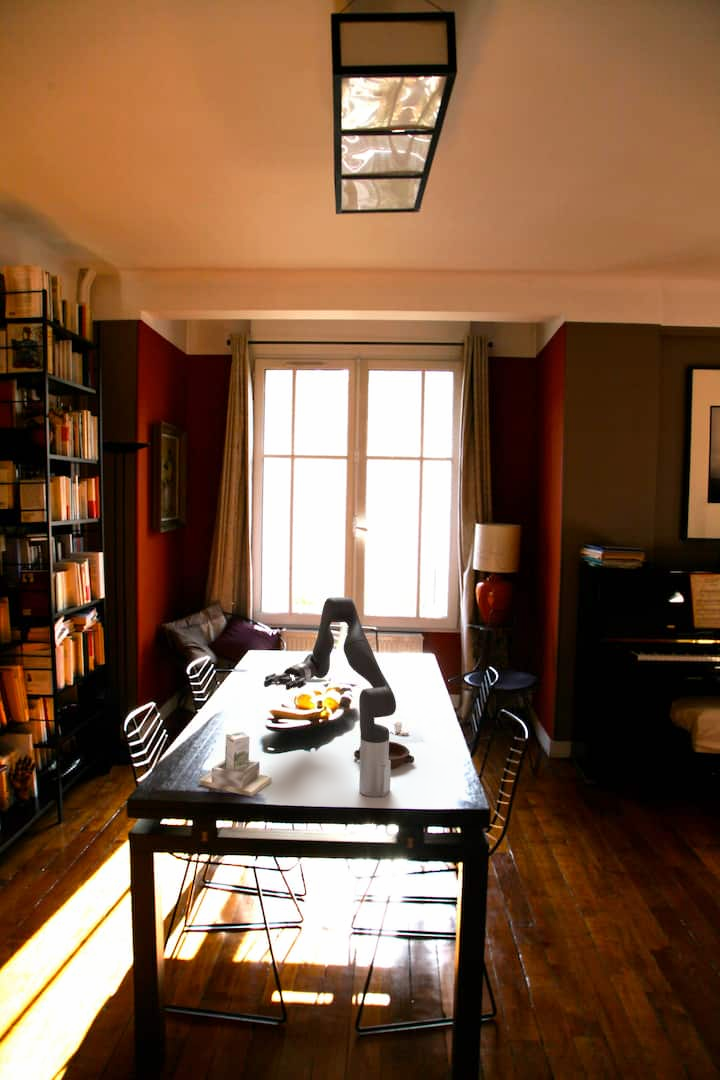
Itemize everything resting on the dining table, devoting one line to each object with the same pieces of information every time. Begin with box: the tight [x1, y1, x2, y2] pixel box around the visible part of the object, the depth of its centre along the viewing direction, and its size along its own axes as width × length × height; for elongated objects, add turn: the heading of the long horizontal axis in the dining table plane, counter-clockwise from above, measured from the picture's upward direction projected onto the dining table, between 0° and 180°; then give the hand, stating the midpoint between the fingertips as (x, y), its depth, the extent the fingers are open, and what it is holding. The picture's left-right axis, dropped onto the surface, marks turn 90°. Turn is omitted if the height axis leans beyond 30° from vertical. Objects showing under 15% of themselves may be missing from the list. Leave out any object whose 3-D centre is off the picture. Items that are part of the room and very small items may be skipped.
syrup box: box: [224, 730, 250, 772], centre depth 196 cm, size 6×6×14 cm
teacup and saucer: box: [388, 721, 410, 736], centre depth 247 cm, size 9×8×4 cm
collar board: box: [198, 759, 273, 798], centre depth 196 cm, size 20×12×6 cm, turn 68°
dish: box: [353, 741, 415, 769], centre depth 216 cm, size 18×22×5 cm
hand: (275, 685), depth 209 cm, fingers open, 8 cm apart
